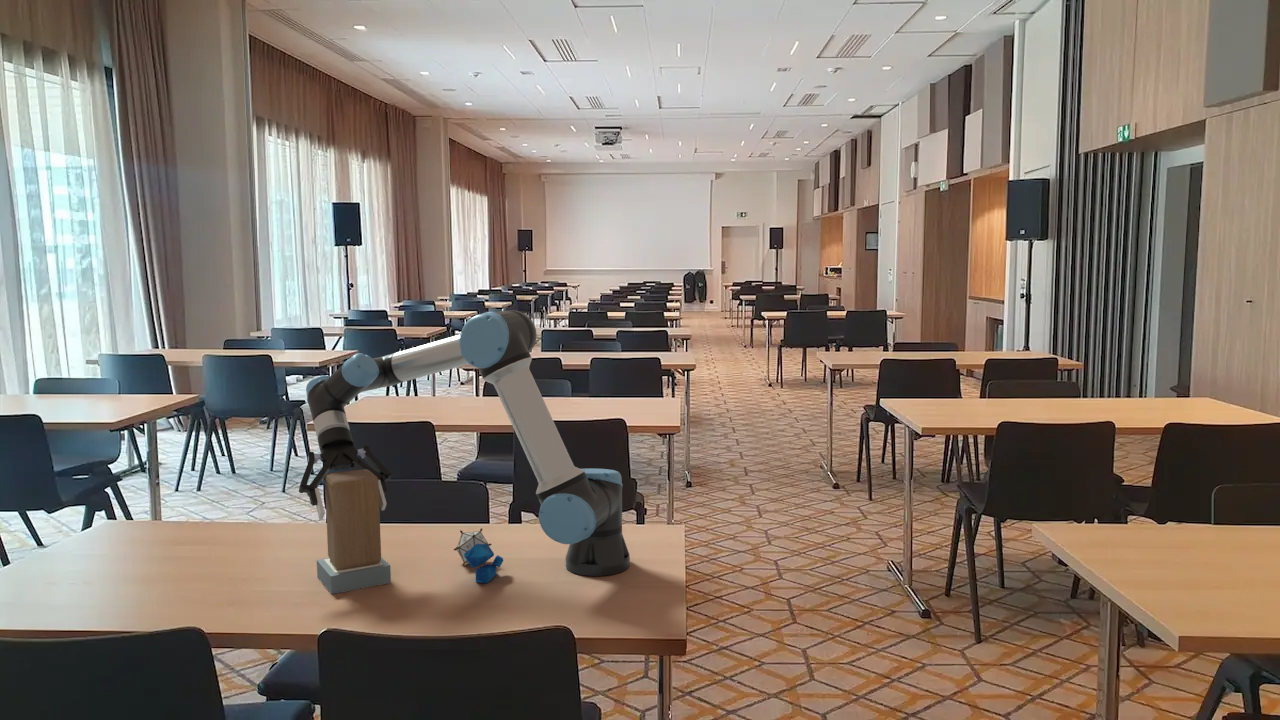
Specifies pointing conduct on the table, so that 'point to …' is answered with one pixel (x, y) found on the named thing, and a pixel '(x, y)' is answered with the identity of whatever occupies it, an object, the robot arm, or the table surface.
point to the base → (352, 575)
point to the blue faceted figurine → (480, 556)
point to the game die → (469, 542)
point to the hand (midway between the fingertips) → (353, 511)
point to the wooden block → (353, 518)
